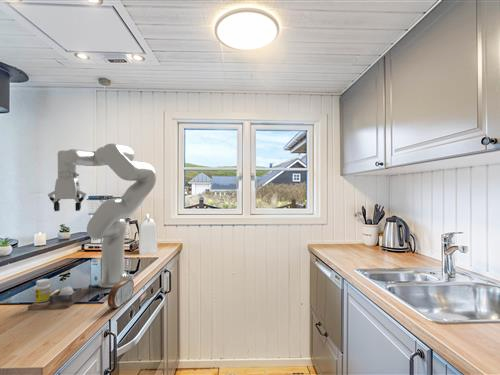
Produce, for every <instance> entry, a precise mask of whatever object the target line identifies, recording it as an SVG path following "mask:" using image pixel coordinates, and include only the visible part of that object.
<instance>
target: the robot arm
mask: <svg viewBox="0 0 500 375" xmlns="http://www.w3.org/2000/svg"><path fill="white" fill-rule="evenodd" d="M134 159H135V152H134V150H133V149H132V148H131V147H129V146H127V145H123V144H118V143H117V144H116V143H107V144H105V145H103V146H100V147H98V148H97V149H96V150H94V151H91V150H85V149H78V148H77V149H76V148H72V149H68V150H59V151H58V152H57V178H56V181H55V185H54V190H53V191H51V192H48V193H47V196H48V198H49V200H50V201H51V202H52V203H53V210H54V212H60V206H61V203H60V201H61V200H74V201H75V203H74V204H75V206H74V207H75V211H76V212H80V211H81V208H82V204H81V203H82V202H83V201H84V200H85V198H86V196H87V192H86V193H85V192H84V191H81V188H80V182H79V178H78V177H79V176H80V174H79V173H77V166H83V167H84V166H85V167H103V166H108V167H109V168H110V169H111V170H112V171H113V172H114V173H115V174H116V175H117V176H118V178H120V179H121V180H123V181H133V183H132V185H130V186H129V187H128V188H127V189H126V190H125V192H124V193H123V194H122V196H120V197H117V198H109V199H106V200H105V201H103V202H101V204H100V205H99V207H98V208H97V209H96V210H95V212H94V213H93V215H92V217H90V219H89V221H88V222H87V226H86V233H87V235H88V237H89V238H91V239H92V240H101V239H103V240H102V242H101V280H99V281H98V283H97V286H98V287H100V288H105V289H106V288H107V289H109V288H110V289H111V288H112V287H113V286H114V285H115V284H117V283H118V282H120V281H122V280H123V279H132V280H134V279H135V278H134V277H135V276H134V274H133V273H131V274H130V273H129V274H128V272H127V270H126V271H125V237H126V236H125V235H126V233H127V232H126V231H127V221H126V219H129V218H131V217H132V216H133V215H134V214H135V212H136V211H137V210H138V209H139V207H140V206H141V204H142V203H143V202H144V201H145V199H146V198H147V197H148V196H149V194H150V192H152V190H153V189H154V187H155V185H156V181H157V172H156V171H155V168H154V167H153V165H152V164H150V163H146V162H143V161H134Z"/></svg>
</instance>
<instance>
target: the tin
mask: <svg viewBox="0 0 500 375" xmlns="http://www.w3.org/2000/svg"><path fill="white" fill-rule="evenodd" d="M134 287H135V282H134V279H123V280H122V281H120V282H118V283H117V284H115V285H114V286H113V287H110V290H109V292H108V294H107V295H108V296H107V306H108V307H109V308H110V309H118V308H120V307H122V306H123V305H124V304H125V303H127V302H128V301H129V300H130V299H131V298H132V296H133V294H134Z"/></svg>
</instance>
